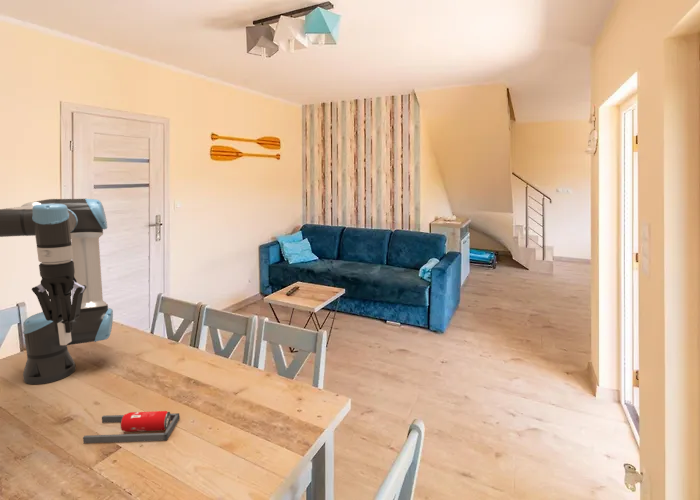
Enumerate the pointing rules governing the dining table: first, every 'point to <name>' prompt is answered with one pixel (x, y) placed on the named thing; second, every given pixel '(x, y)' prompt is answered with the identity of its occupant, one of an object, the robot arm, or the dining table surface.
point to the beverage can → (145, 421)
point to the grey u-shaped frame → (131, 437)
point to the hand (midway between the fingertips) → (65, 343)
